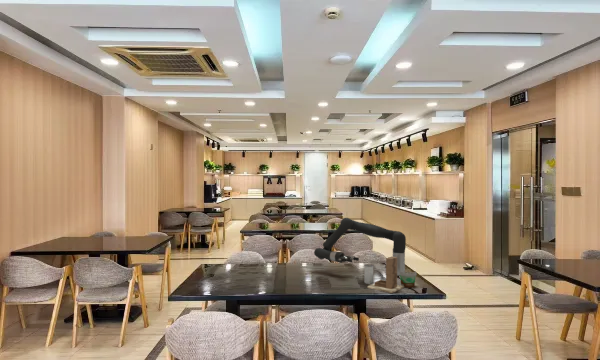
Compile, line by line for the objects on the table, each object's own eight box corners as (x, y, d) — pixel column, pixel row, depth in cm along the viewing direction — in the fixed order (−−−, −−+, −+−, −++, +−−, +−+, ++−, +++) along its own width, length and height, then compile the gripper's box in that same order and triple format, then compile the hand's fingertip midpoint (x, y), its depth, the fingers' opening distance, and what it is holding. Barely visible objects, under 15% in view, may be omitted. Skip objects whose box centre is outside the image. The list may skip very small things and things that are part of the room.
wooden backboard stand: (380, 282, 270) (380, 253, 270) (404, 287, 258) (404, 256, 258) (367, 287, 256) (367, 256, 256) (391, 293, 244) (391, 260, 244)
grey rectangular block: (367, 281, 272) (367, 263, 272) (373, 282, 269) (373, 264, 269) (364, 282, 269) (364, 264, 269) (369, 284, 266) (370, 265, 266)
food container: (403, 288, 255) (403, 273, 255) (399, 286, 261) (399, 271, 261) (419, 287, 258) (420, 273, 258) (415, 285, 264) (415, 271, 264)
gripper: (331, 253, 282) (350, 256, 271) (342, 250, 293) (360, 253, 282) (331, 263, 282) (349, 266, 271) (342, 260, 293) (360, 263, 282)
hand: (355, 260), depth 277 cm, fingers open, 8 cm apart
